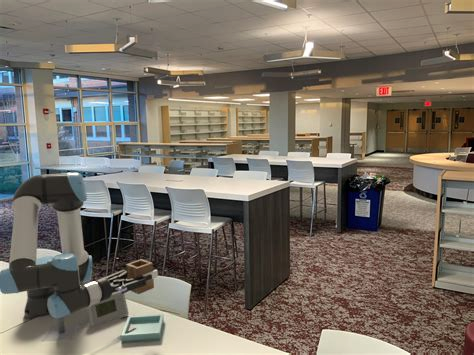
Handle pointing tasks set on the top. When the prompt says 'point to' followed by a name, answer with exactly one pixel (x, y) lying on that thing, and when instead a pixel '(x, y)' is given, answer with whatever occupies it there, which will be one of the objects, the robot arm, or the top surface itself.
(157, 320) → the tray
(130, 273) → the wooden pen holder
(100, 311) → the digital clock
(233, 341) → the top surface
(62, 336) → the post base
